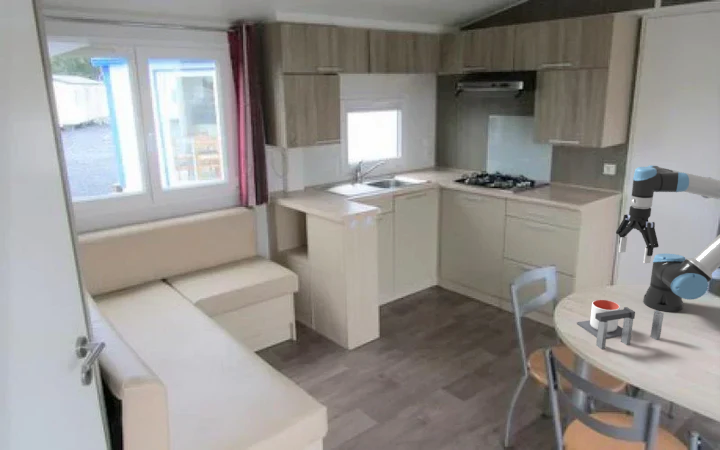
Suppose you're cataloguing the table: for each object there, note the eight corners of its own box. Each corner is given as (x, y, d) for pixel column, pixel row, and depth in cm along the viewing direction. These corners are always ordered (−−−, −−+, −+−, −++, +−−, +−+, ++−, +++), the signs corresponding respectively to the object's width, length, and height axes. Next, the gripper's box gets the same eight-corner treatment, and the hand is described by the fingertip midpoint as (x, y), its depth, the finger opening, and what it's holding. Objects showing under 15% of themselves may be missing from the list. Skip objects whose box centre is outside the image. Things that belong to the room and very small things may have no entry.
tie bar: (625, 313, 199) (626, 306, 198) (634, 318, 195) (635, 311, 194) (593, 318, 195) (594, 311, 195) (601, 323, 191) (602, 316, 190)
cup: (619, 334, 205) (622, 311, 202) (592, 332, 207) (595, 309, 204) (613, 322, 214) (616, 300, 211) (587, 321, 216) (589, 298, 213)
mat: (605, 319, 219) (606, 317, 219) (630, 334, 206) (630, 333, 206) (576, 323, 216) (576, 322, 215) (599, 339, 202) (599, 338, 202)
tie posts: (653, 336, 204) (657, 310, 201) (659, 339, 201) (663, 313, 198) (596, 345, 198) (599, 318, 195) (601, 349, 195) (604, 322, 192)
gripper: (610, 200, 217) (604, 248, 223) (657, 215, 194) (649, 268, 200) (626, 198, 219) (620, 247, 225) (674, 213, 196) (666, 266, 202)
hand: (633, 257), depth 212 cm, fingers open, 13 cm apart
